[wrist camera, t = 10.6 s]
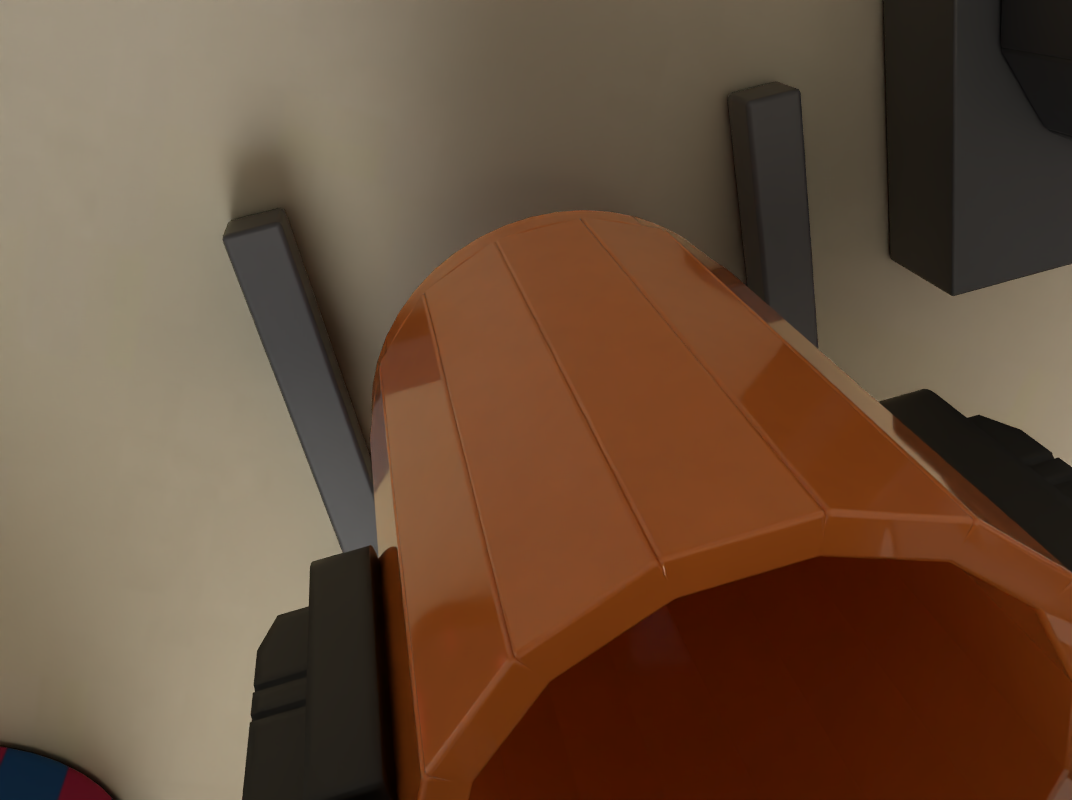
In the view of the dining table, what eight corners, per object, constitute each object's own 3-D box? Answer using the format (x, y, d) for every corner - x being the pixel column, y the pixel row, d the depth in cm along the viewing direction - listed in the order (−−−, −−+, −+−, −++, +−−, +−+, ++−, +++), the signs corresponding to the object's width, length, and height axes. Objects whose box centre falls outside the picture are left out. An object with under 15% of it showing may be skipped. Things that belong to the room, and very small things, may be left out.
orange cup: (317, 270, 13) (301, 665, 6) (734, 161, 14) (1154, 414, 7) (429, 601, 16) (503, 1119, 9) (767, 503, 17) (1083, 925, 10)
